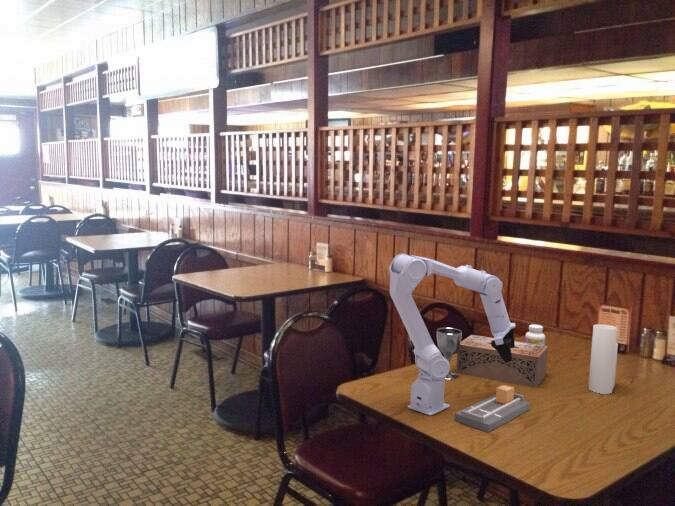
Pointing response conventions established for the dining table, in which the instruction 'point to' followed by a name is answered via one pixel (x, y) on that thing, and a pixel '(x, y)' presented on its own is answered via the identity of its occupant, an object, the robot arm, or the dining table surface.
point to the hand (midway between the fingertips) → (509, 354)
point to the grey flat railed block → (492, 412)
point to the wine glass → (449, 344)
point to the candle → (603, 359)
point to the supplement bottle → (535, 335)
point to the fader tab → (504, 394)
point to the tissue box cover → (502, 361)
